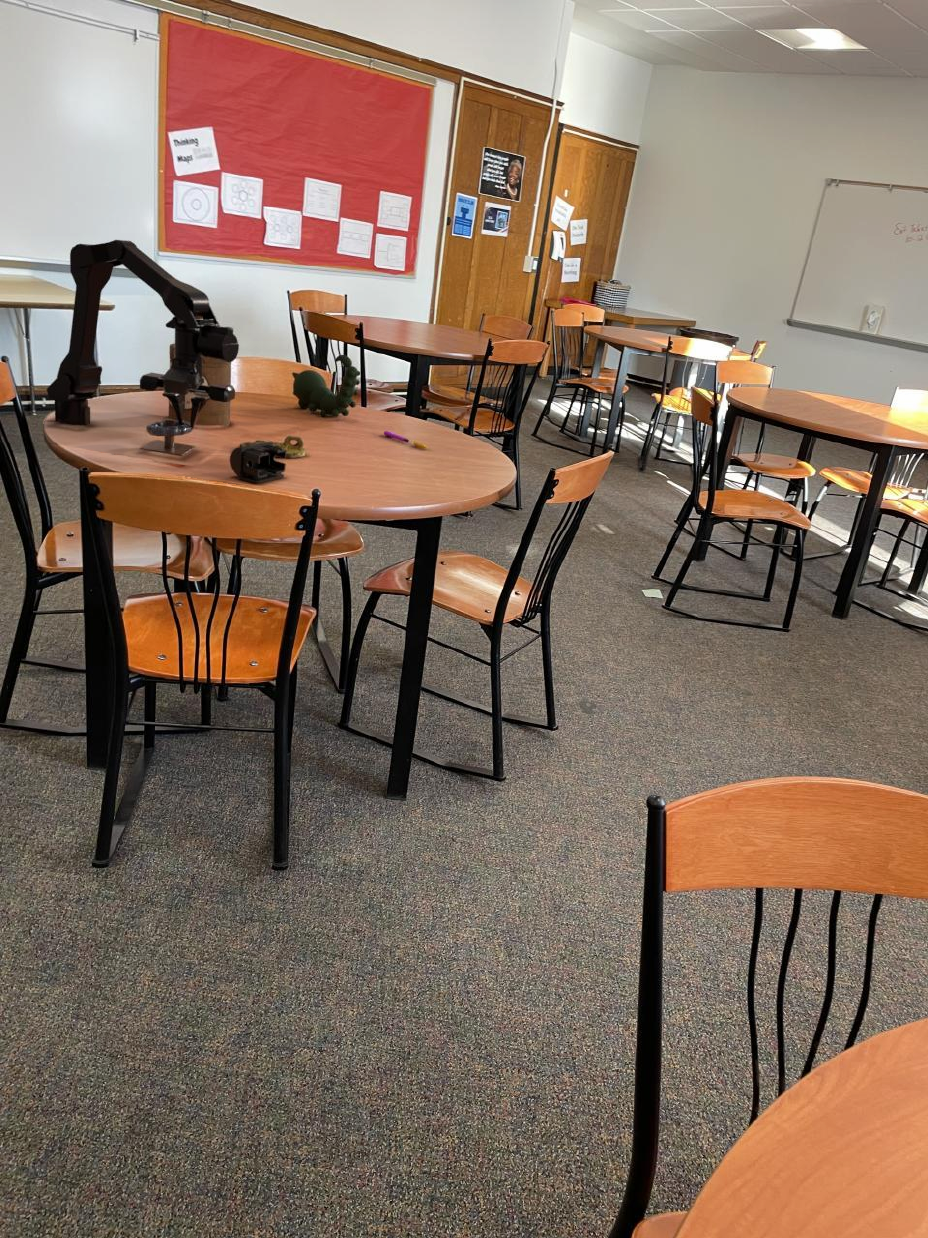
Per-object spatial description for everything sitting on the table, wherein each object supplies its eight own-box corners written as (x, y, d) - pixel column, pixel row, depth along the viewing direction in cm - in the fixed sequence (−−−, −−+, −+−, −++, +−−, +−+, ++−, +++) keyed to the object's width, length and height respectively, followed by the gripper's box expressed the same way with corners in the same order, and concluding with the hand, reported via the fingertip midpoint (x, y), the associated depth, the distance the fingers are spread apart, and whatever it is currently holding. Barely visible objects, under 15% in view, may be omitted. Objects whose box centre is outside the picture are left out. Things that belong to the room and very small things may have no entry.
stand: (140, 453, 191) (140, 419, 188) (156, 444, 200) (157, 412, 197) (181, 460, 191) (182, 426, 188) (196, 451, 199) (197, 419, 197)
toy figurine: (359, 427, 256) (300, 400, 268) (370, 360, 248) (309, 336, 260) (335, 429, 249) (276, 401, 261) (346, 360, 241) (284, 335, 253)
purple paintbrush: (382, 434, 242) (425, 449, 233) (383, 430, 242) (426, 445, 233) (389, 436, 244) (431, 451, 235) (390, 431, 244) (432, 447, 235)
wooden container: (155, 417, 223) (156, 325, 215) (202, 413, 235) (204, 326, 227) (196, 431, 217) (199, 337, 208) (242, 426, 228) (246, 337, 220)
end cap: (259, 469, 193) (261, 438, 191) (286, 477, 191) (288, 445, 188) (228, 476, 185) (229, 444, 182) (255, 484, 182) (257, 452, 179)
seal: (239, 459, 202) (306, 463, 207) (240, 439, 200) (308, 444, 204) (238, 445, 210) (302, 449, 214) (239, 425, 208) (304, 430, 212)
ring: (139, 436, 190) (138, 427, 189) (157, 428, 198) (156, 419, 198) (184, 437, 189) (182, 427, 188) (199, 429, 198) (198, 419, 197)
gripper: (128, 350, 180) (128, 427, 186) (220, 364, 179) (217, 442, 185) (150, 344, 190) (150, 418, 196) (237, 358, 190) (234, 431, 196)
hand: (187, 427), depth 193 cm, fingers closed on ring, 2 cm apart
